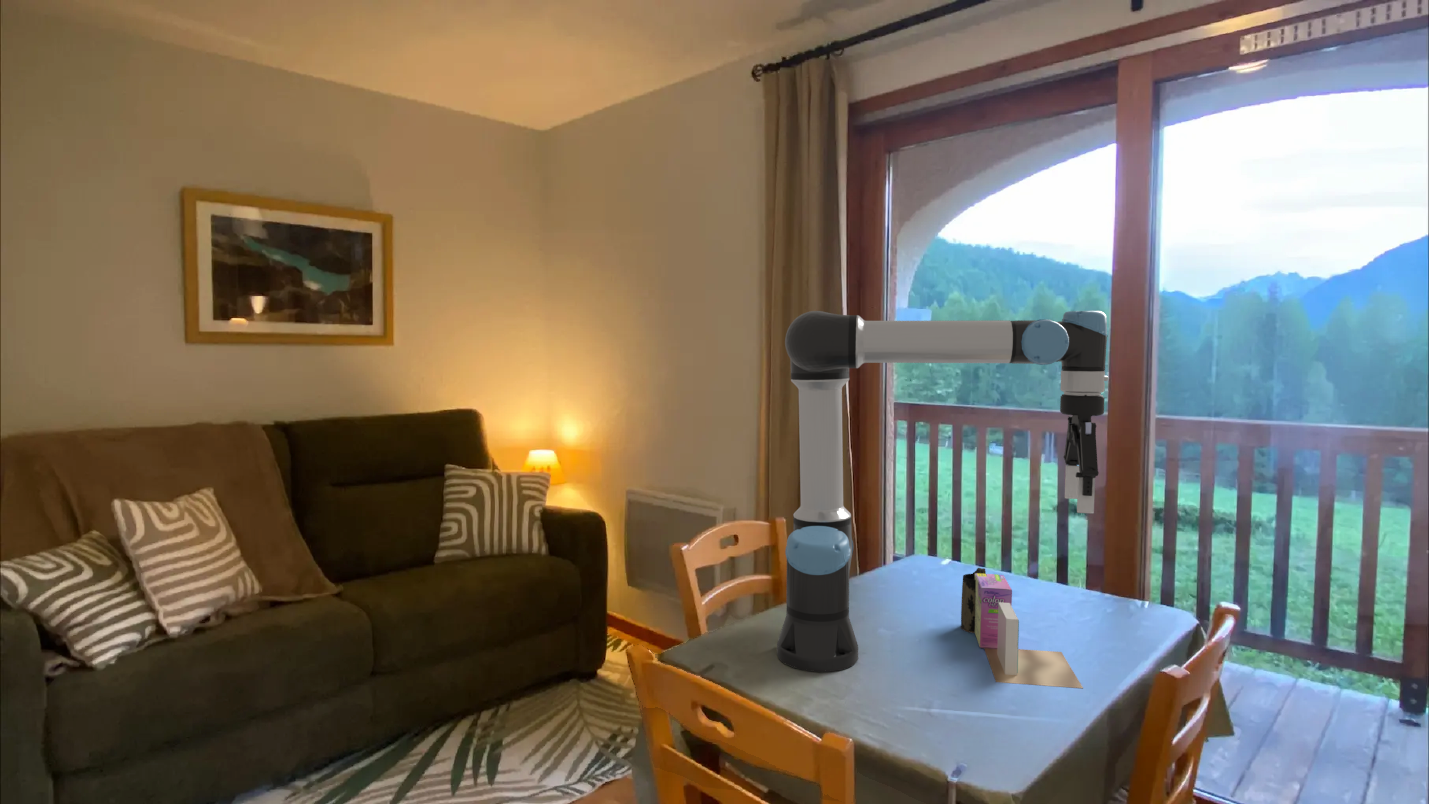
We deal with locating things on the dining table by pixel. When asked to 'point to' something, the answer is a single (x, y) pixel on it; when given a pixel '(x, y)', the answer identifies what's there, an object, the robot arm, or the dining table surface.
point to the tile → (1008, 638)
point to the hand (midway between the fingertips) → (1078, 505)
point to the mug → (969, 601)
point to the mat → (1036, 669)
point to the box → (989, 607)
